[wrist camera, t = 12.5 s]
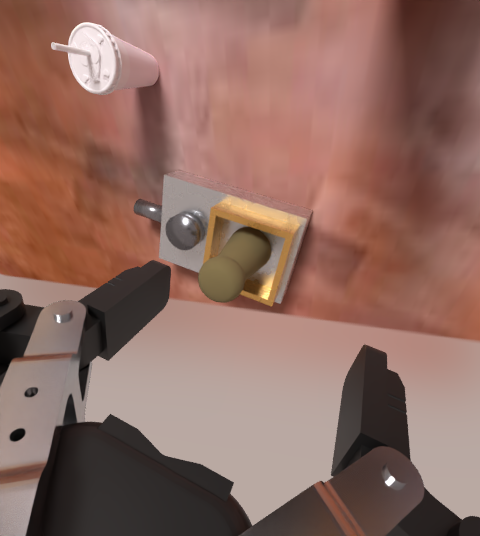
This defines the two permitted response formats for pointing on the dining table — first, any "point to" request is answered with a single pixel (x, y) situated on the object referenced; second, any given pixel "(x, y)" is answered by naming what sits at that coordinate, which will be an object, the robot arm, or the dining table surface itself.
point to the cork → (234, 264)
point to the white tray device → (226, 228)
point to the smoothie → (107, 61)
